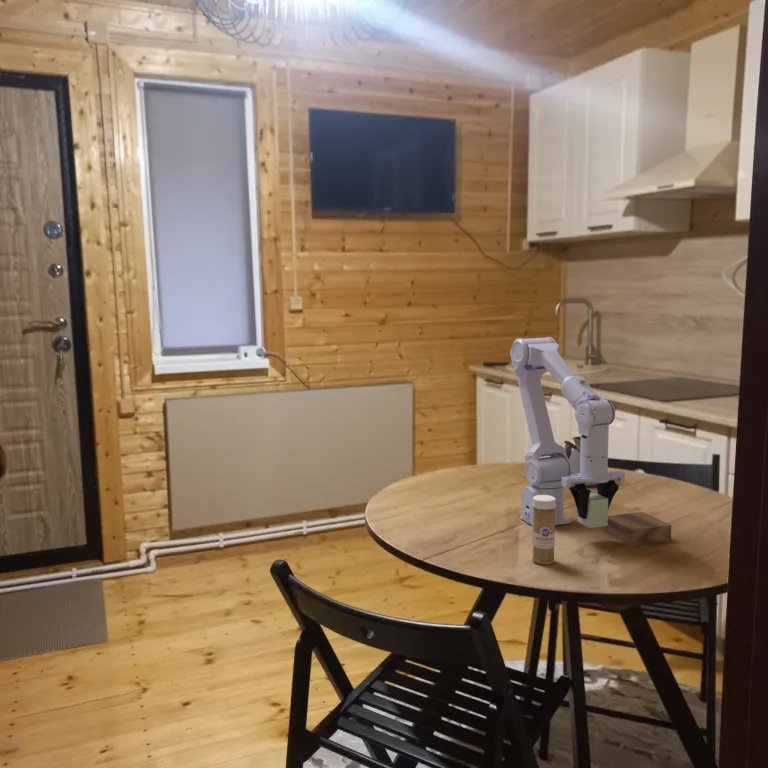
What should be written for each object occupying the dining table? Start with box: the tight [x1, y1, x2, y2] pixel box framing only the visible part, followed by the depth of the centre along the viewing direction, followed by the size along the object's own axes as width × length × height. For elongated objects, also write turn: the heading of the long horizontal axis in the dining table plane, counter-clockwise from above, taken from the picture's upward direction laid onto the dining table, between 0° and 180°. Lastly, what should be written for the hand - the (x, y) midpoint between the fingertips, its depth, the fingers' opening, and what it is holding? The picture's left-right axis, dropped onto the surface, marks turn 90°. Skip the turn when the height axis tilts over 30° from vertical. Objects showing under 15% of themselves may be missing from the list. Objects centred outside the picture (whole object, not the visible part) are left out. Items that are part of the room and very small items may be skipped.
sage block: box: [577, 492, 609, 529], centre depth 153 cm, size 4×4×6 cm
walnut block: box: [603, 511, 672, 547], centre depth 158 cm, size 10×10×4 cm
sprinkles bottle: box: [531, 495, 556, 566], centre depth 143 cm, size 5×5×13 cm
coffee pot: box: [560, 435, 596, 487], centre depth 197 cm, size 21×12×15 cm, turn 145°
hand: (592, 516), depth 154 cm, fingers closed on sage block, 4 cm apart
